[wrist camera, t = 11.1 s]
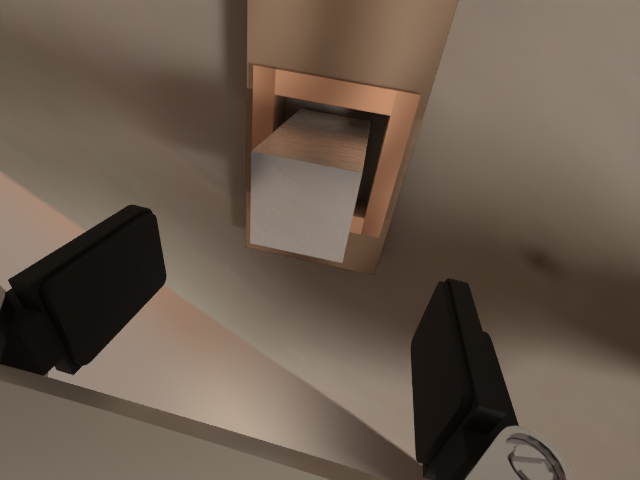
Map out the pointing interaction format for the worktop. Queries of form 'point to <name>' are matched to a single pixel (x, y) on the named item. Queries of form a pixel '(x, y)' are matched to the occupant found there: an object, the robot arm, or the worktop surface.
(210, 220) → the worktop surface
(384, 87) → the tan flat board
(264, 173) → the grey square block
